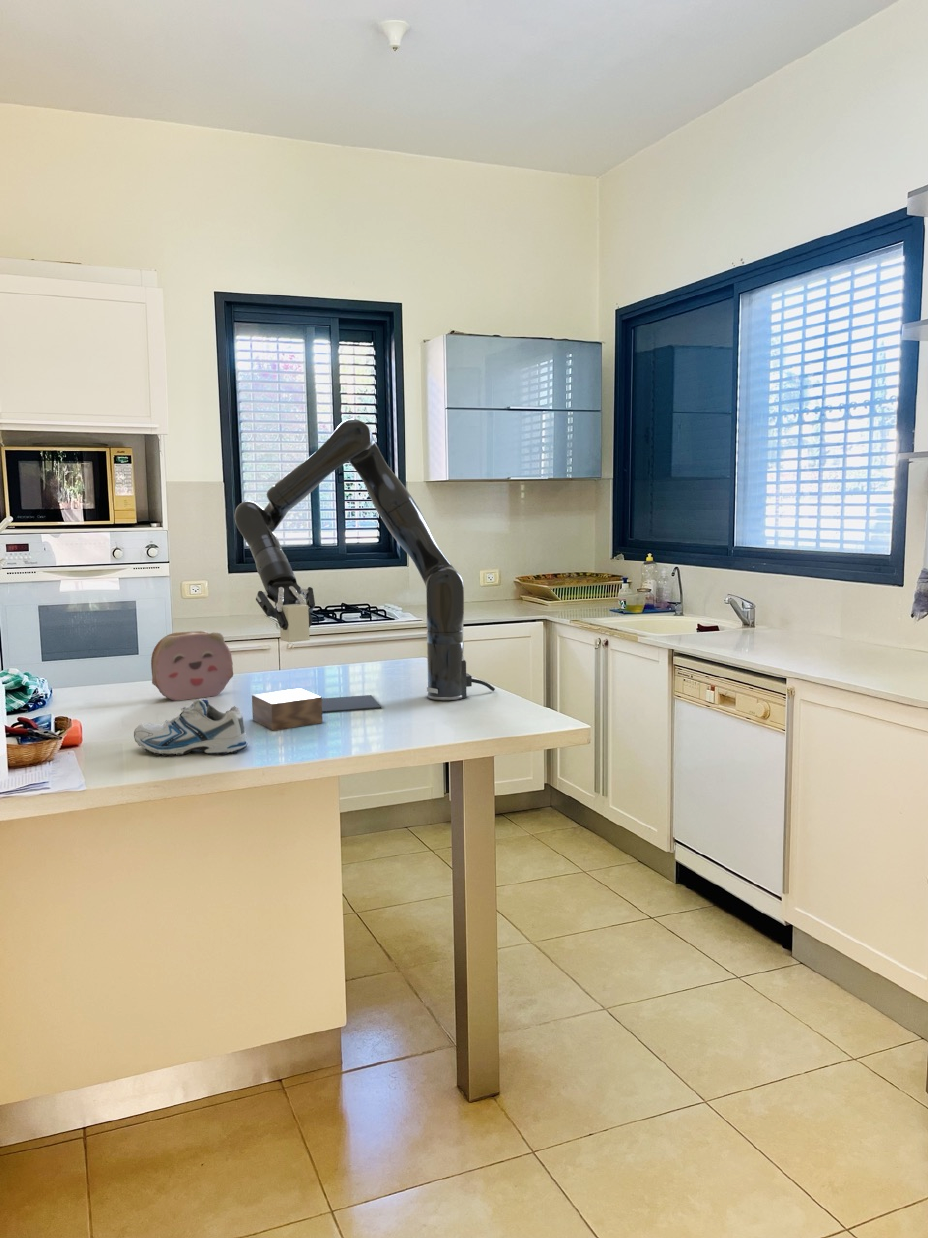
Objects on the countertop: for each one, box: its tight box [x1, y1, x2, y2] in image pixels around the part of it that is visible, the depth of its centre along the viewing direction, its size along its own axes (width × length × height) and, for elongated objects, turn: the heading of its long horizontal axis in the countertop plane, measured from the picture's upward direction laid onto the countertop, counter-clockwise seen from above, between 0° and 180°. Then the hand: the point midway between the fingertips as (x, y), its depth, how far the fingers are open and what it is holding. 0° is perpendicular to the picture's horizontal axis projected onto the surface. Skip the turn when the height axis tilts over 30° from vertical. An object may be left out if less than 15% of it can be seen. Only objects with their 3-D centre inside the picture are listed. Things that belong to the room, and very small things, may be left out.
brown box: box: [251, 687, 323, 732], centre depth 213 cm, size 12×12×6 cm
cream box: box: [279, 604, 311, 643], centre depth 213 cm, size 5×5×8 cm
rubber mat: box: [322, 694, 382, 714], centre depth 230 cm, size 16×14×1 cm
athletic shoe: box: [133, 698, 249, 757], centre depth 190 cm, size 10×23×12 cm, turn 94°
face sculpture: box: [150, 630, 234, 702], centre depth 240 cm, size 20×7×17 cm, turn 121°
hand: (297, 626), depth 212 cm, fingers closed on cream box, 5 cm apart
